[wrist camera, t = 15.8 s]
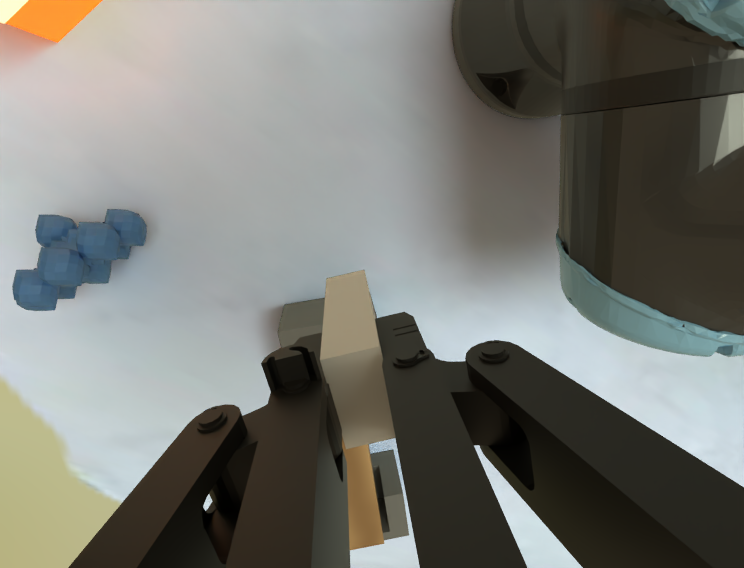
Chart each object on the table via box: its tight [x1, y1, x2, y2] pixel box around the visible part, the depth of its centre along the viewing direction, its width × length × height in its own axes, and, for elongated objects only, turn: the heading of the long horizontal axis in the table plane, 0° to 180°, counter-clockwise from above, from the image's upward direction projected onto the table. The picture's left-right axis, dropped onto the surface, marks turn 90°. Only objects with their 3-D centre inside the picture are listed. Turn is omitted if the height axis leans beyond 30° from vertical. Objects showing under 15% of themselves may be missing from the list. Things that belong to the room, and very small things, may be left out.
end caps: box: [278, 295, 409, 540], centre depth 44 cm, size 8×25×6 cm, turn 8°
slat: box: [342, 437, 384, 550], centre depth 42 cm, size 4×22×6 cm, turn 8°
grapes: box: [12, 209, 147, 311], centre depth 33 cm, size 12×7×12 cm, turn 125°
